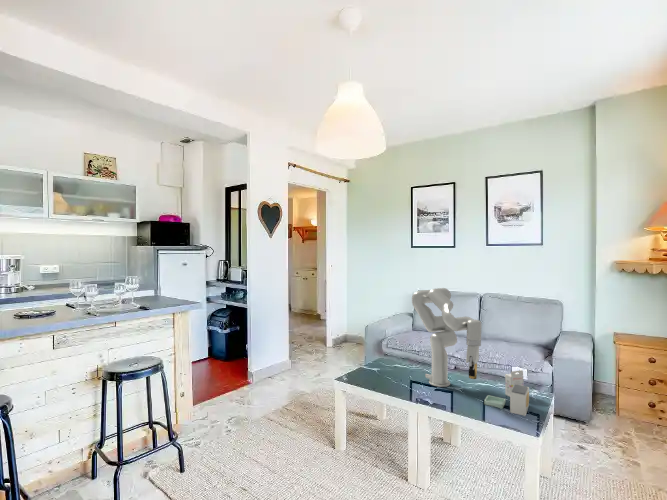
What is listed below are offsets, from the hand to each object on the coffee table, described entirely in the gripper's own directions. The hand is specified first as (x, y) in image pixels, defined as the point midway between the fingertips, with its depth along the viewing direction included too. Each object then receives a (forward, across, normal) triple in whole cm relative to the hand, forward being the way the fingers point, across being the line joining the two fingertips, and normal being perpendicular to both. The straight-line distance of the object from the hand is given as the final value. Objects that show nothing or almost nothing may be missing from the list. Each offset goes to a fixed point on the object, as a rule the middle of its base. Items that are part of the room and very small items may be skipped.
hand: (472, 374), depth 203 cm
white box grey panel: (+13, 0, +24) cm, 27 cm away
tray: (+13, 0, +12) cm, 18 cm away
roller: (+2, 0, 0) cm, 2 cm away
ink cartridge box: (+13, -18, +19) cm, 29 cm away
